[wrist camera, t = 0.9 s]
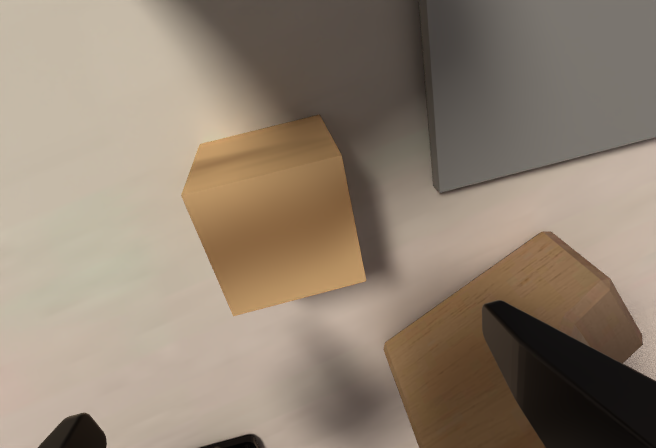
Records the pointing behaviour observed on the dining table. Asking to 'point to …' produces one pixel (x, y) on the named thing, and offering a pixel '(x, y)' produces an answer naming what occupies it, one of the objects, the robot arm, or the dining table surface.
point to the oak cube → (275, 214)
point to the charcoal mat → (534, 82)
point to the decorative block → (476, 358)
